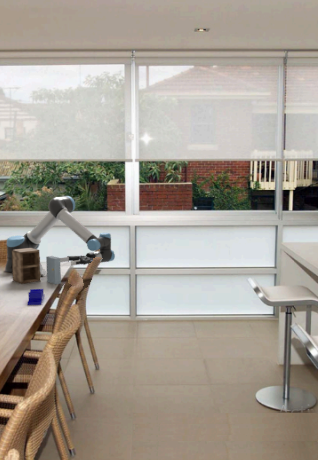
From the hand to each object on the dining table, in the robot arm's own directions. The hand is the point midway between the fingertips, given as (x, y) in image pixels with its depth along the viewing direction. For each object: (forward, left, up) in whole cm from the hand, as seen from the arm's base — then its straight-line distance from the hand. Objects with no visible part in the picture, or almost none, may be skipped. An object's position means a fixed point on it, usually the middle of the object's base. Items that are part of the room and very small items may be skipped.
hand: (65, 261), depth 378 cm
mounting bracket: (+34, -40, -13) cm, 54 cm away
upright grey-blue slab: (0, -9, -12) cm, 15 cm away
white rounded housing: (-28, -4, -12) cm, 31 cm away
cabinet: (-15, -20, -12) cm, 28 cm away
